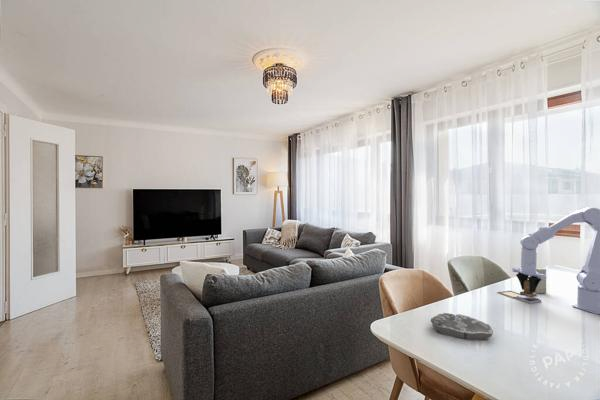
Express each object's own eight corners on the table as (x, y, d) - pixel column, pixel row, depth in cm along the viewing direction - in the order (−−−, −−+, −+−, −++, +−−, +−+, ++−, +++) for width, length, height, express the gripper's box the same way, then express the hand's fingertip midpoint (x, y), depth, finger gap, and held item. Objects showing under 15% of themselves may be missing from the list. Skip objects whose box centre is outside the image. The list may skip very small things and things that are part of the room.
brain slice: (482, 324, 115) (482, 316, 115) (498, 345, 99) (498, 336, 99) (427, 318, 121) (427, 310, 121) (432, 337, 105) (433, 328, 105)
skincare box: (546, 293, 152) (547, 269, 152) (537, 293, 153) (538, 269, 152) (537, 289, 159) (537, 266, 159) (528, 289, 159) (528, 266, 159)
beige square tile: (527, 297, 147) (527, 296, 147) (513, 298, 144) (513, 297, 144) (510, 291, 155) (510, 290, 155) (496, 292, 153) (496, 291, 153)
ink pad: (541, 302, 140) (541, 299, 140) (529, 303, 138) (529, 300, 138) (526, 297, 147) (526, 294, 147) (515, 298, 145) (515, 295, 145)
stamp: (536, 296, 141) (536, 280, 140) (529, 297, 139) (529, 281, 139) (527, 293, 145) (527, 278, 145) (520, 294, 144) (520, 278, 144)
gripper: (507, 259, 148) (507, 286, 148) (538, 265, 134) (537, 296, 134) (518, 258, 150) (518, 285, 150) (550, 264, 136) (549, 295, 136)
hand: (528, 290), depth 142 cm, fingers closed on stamp, 3 cm apart
